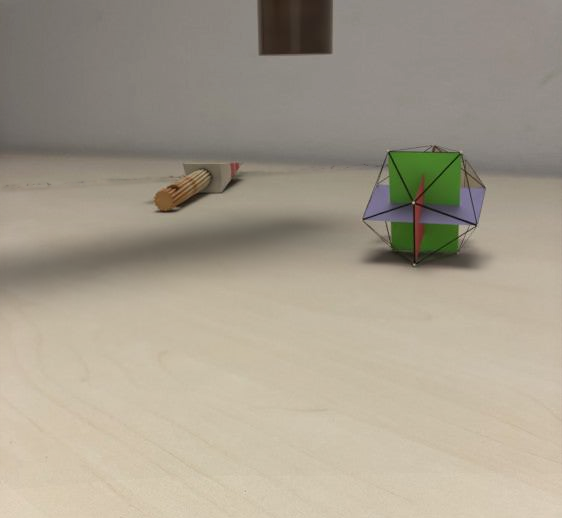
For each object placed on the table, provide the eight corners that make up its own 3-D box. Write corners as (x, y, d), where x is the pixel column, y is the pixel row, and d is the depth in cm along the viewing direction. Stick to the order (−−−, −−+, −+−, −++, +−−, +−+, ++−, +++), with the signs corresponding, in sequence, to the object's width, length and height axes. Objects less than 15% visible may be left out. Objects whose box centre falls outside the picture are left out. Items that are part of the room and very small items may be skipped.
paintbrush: (247, 148, 76) (182, 185, 58) (249, 174, 77) (185, 217, 59) (213, 148, 76) (139, 184, 59) (215, 173, 78) (142, 216, 60)
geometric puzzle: (472, 243, 37) (492, 108, 38) (345, 236, 39) (369, 109, 41) (475, 292, 44) (492, 175, 45) (367, 284, 46) (386, 173, 47)
